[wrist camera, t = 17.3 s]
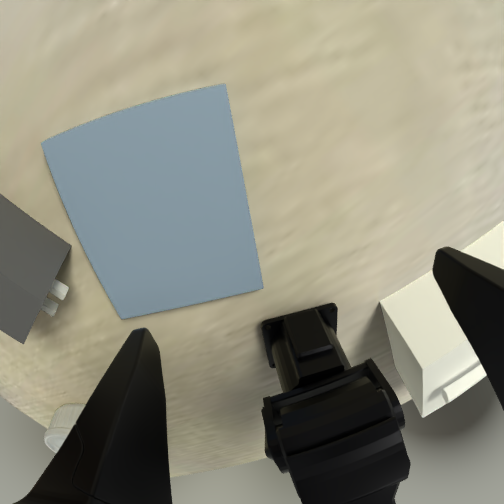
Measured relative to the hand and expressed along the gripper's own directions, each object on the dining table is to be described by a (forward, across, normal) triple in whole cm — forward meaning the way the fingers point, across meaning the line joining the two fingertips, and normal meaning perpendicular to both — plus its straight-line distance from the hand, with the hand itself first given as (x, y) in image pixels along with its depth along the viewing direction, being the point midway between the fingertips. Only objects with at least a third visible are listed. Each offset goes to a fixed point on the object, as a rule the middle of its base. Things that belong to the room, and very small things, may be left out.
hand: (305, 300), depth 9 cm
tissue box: (+12, -24, +18) cm, 33 cm away
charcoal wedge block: (+12, +18, 0) cm, 21 cm away
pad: (+12, +6, +2) cm, 13 cm away
